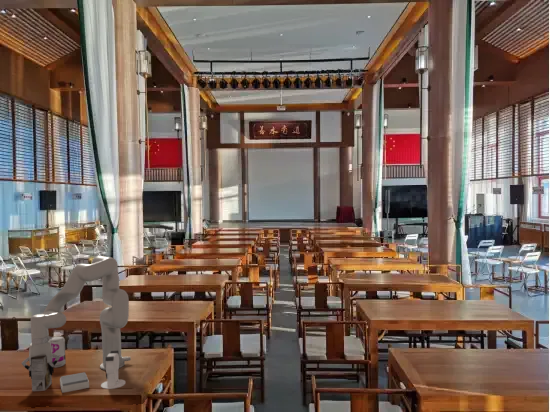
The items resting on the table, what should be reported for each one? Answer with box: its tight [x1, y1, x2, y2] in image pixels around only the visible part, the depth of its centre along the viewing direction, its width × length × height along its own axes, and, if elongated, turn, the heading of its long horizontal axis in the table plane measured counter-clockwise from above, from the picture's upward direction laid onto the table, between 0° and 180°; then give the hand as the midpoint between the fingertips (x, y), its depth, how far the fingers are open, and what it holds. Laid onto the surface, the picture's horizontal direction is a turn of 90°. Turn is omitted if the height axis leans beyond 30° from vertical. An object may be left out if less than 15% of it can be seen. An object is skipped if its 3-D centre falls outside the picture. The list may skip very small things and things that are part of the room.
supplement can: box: [49, 335, 67, 369], centre depth 275 cm, size 8×8×15 cm
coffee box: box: [31, 356, 53, 392], centre depth 243 cm, size 9×6×16 cm
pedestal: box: [59, 371, 90, 393], centre depth 244 cm, size 12×12×4 cm
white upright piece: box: [100, 351, 126, 390], centre depth 245 cm, size 12×11×15 cm
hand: (41, 376), depth 243 cm, fingers closed on coffee box, 8 cm apart
